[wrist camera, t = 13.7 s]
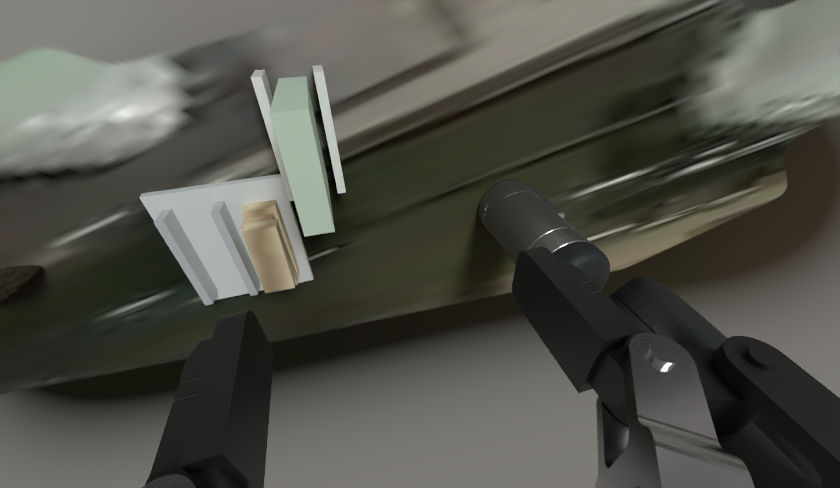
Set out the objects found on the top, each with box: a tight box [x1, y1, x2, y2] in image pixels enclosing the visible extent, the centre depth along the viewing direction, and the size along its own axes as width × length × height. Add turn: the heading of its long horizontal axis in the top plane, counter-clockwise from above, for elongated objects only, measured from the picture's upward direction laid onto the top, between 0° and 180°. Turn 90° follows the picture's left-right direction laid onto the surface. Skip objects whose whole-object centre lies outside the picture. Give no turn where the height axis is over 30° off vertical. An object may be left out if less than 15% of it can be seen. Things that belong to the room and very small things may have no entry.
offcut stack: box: [241, 200, 299, 293], centre depth 44 cm, size 4×12×6 cm, turn 2°
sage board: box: [269, 76, 335, 237], centre depth 35 cm, size 3×12×14 cm, turn 1°
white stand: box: [251, 65, 346, 201], centre depth 39 cm, size 7×14×4 cm, turn 2°
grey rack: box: [139, 174, 314, 305], centre depth 45 cm, size 16×18×4 cm
